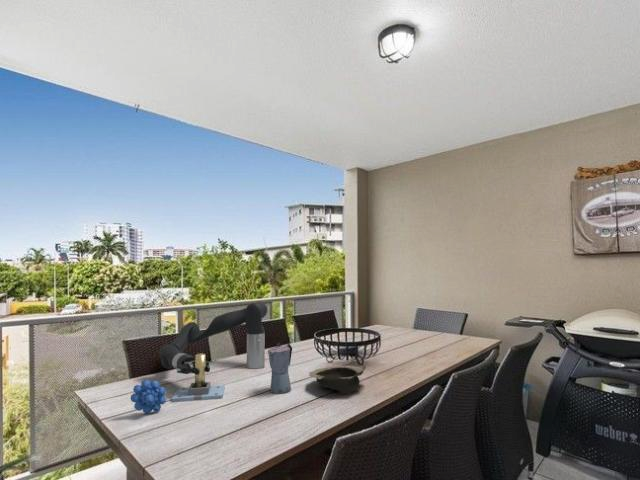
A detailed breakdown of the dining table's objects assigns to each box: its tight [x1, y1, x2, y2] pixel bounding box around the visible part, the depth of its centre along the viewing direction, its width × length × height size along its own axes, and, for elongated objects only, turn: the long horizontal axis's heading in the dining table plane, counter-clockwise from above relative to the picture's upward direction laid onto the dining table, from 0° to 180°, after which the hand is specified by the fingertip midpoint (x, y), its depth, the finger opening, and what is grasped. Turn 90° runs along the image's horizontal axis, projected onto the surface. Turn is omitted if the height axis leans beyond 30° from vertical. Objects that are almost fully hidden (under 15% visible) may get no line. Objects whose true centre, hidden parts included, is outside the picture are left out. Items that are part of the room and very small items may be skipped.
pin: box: [194, 353, 207, 388], centre depth 144 cm, size 4×4×14 cm
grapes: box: [130, 379, 167, 415], centre depth 124 cm, size 12×7×12 cm, turn 120°
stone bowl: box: [308, 365, 367, 396], centre depth 152 cm, size 25×25×9 cm
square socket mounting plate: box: [171, 381, 226, 403], centre depth 144 cm, size 19×12×4 cm, turn 101°
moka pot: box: [267, 341, 293, 395], centre depth 150 cm, size 10×15×20 cm, turn 152°
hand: (203, 370), depth 142 cm, fingers closed on pin, 4 cm apart
